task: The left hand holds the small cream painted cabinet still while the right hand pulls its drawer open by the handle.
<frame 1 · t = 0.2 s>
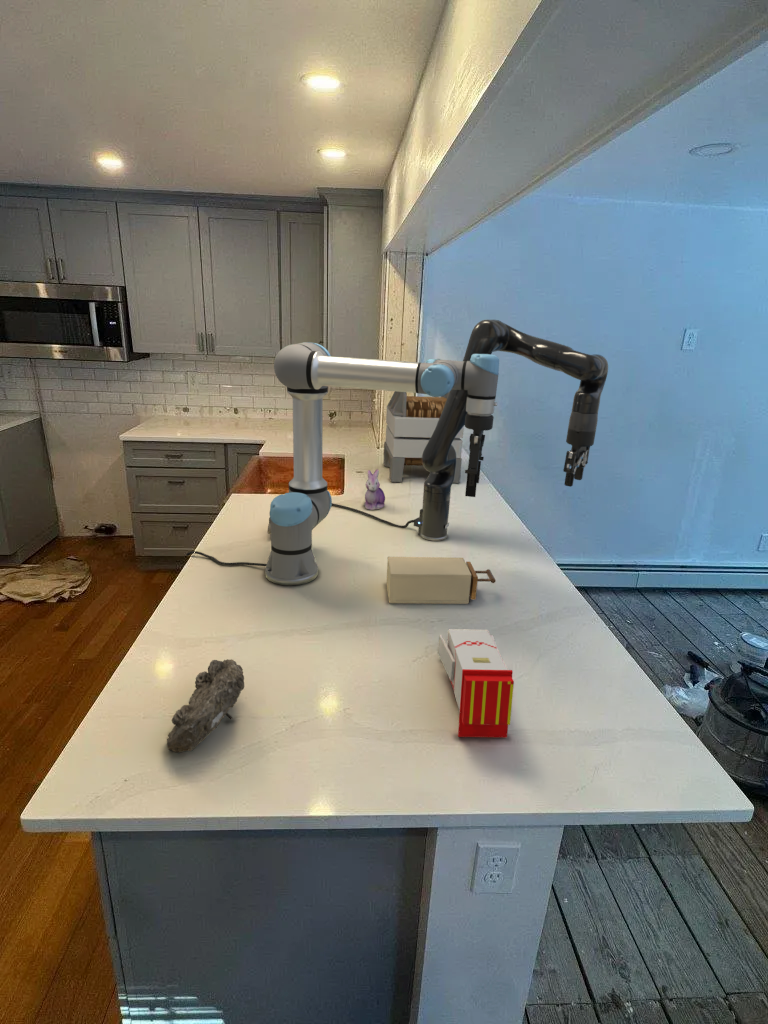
left hand: (472, 489, 160), 28 cm above the counter, tool pointing down, fingers open, 13 cm apart
right hand: (573, 482, 165), 29 cm above the counter, tool pointing down, fingers open, 8 cm apart
cabinet: (426, 593, 159), on the counter
figurine character: (280, 532, 196), on the counter
figurine: (374, 506, 226), on the counter
drawer: (446, 579, 158), point 4 cm above the counter, slide at 0.8 cm
fossil: (212, 717, 108), on the counter
transformer: (419, 473, 275), on the counter
toy: (469, 691, 119), on the counter
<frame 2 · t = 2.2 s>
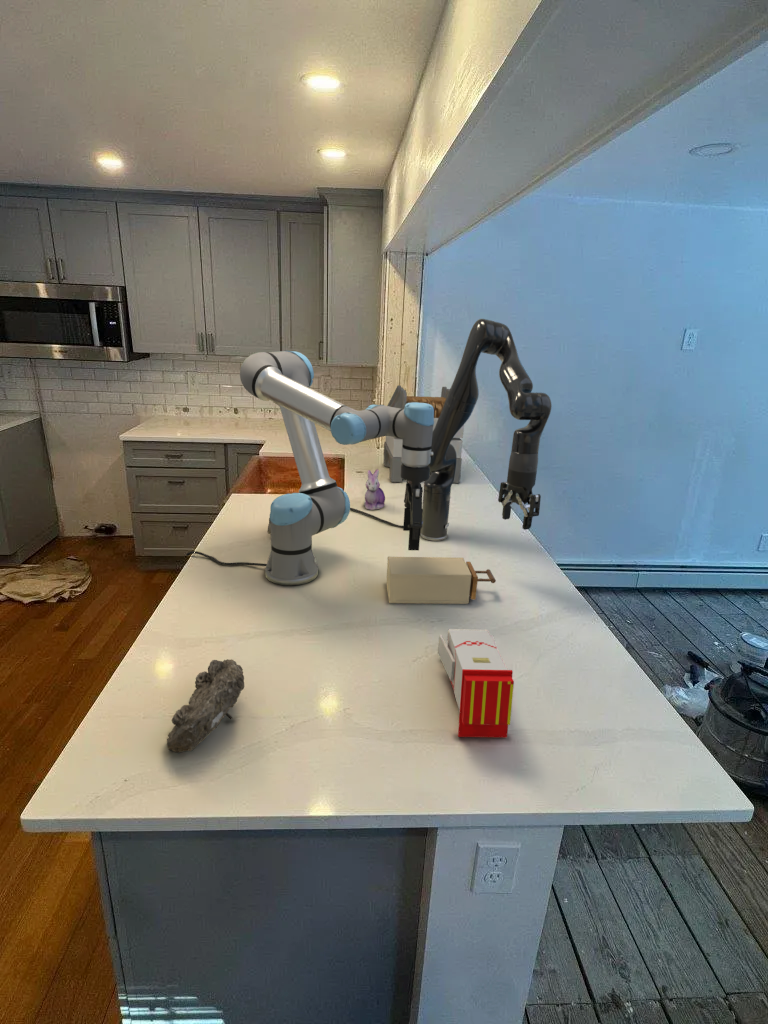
left hand: (410, 539, 154), 16 cm above the counter, tool pointing down, fingers open, 13 cm apart
right hand: (515, 523, 158), 20 cm above the counter, tool pointing down, fingers open, 8 cm apart
nothing on the counter moved.
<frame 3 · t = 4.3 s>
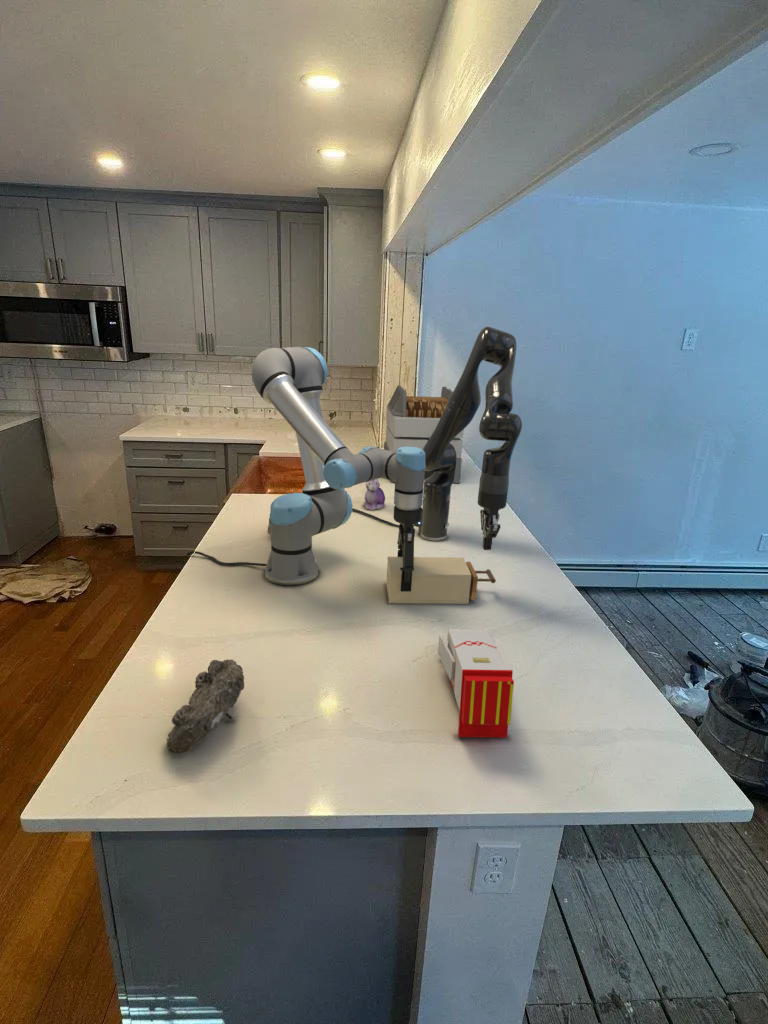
left hand: (403, 580, 157), 4 cm above the counter, tool pointing down, fingers closed on cabinet, 11 cm apart
right hand: (486, 548, 155), 14 cm above the counter, tool pointing down, fingers closed
cabinet: (426, 593, 159), on the counter, touching left hand
everything else where it was.
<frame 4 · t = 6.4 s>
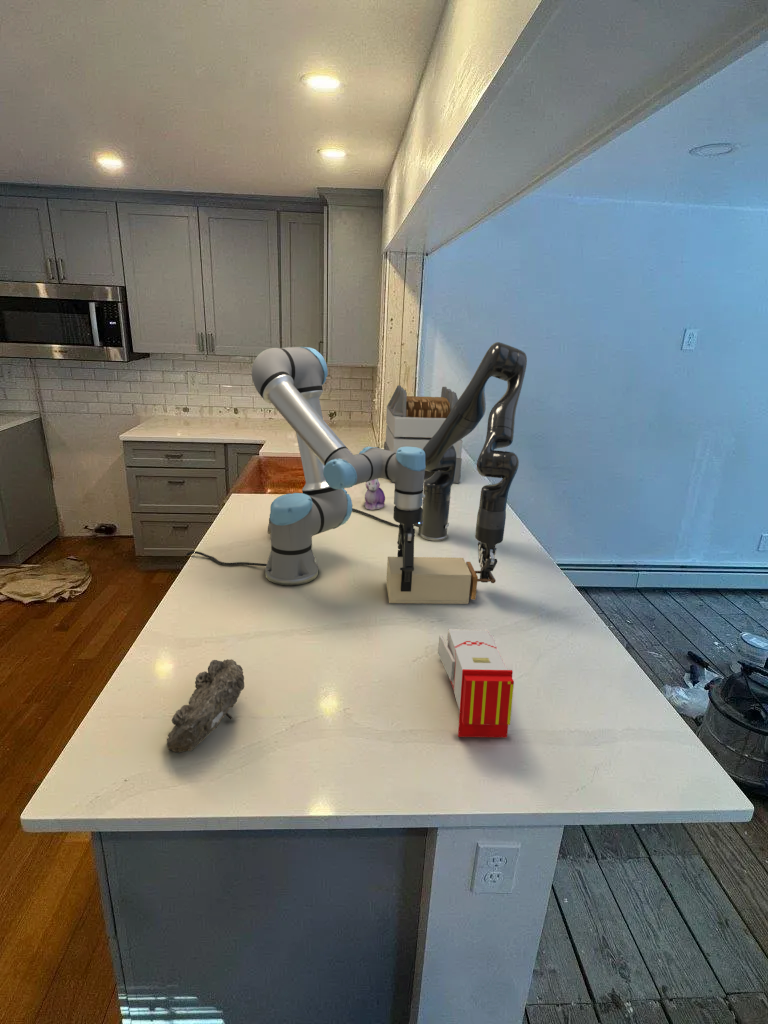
left hand: (403, 580, 157), 4 cm above the counter, tool pointing down, fingers closed on cabinet, 11 cm apart
right hand: (483, 581, 158), 4 cm above the counter, tool pointing down, fingers closed
cabinet: (426, 593, 159), on the counter, touching left hand
drawer: (446, 579, 158), point 4 cm above the counter, slide at 0.8 cm, touching right hand
everything else where it was.
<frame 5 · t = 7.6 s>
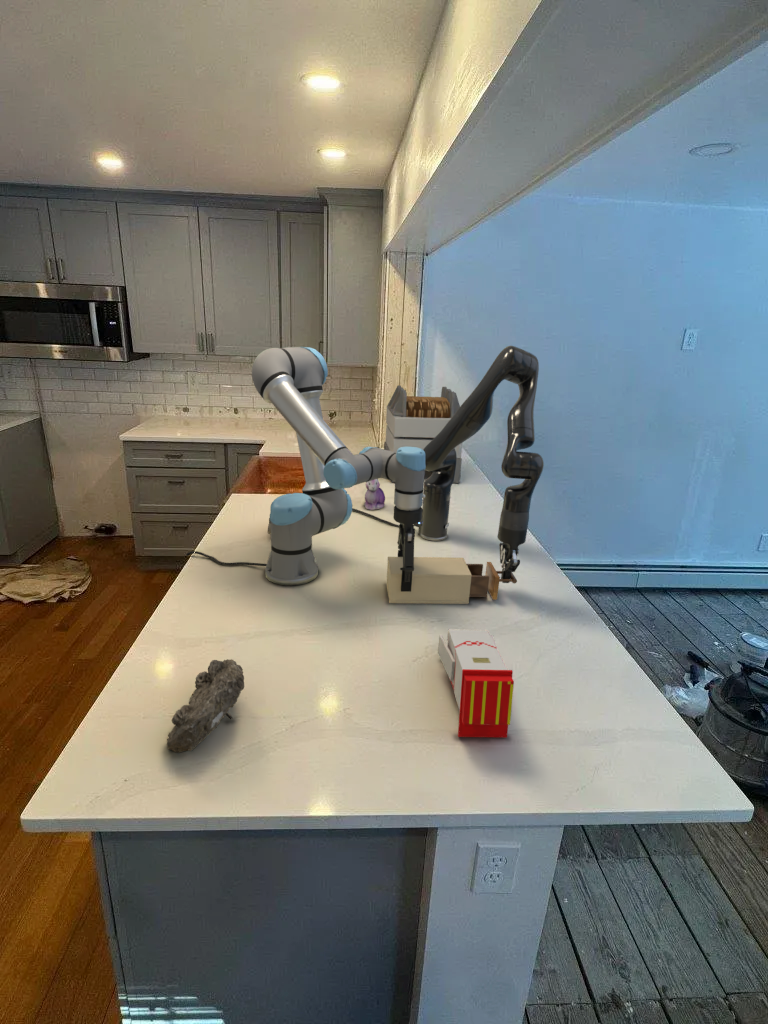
left hand: (403, 580, 157), 4 cm above the counter, tool pointing down, fingers closed on cabinet, 11 cm apart
right hand: (505, 581, 159), 4 cm above the counter, tool pointing down, fingers closed
cabinet: (426, 593, 159), on the counter, touching left hand
drawer: (467, 580, 158), point 4 cm above the counter, slide at 6.8 cm, touching right hand
everything else where it was.
when the left hand's fingers open (4 cm above the counter, at t = 9.4 s): cabinet stays where it is, on the counter.
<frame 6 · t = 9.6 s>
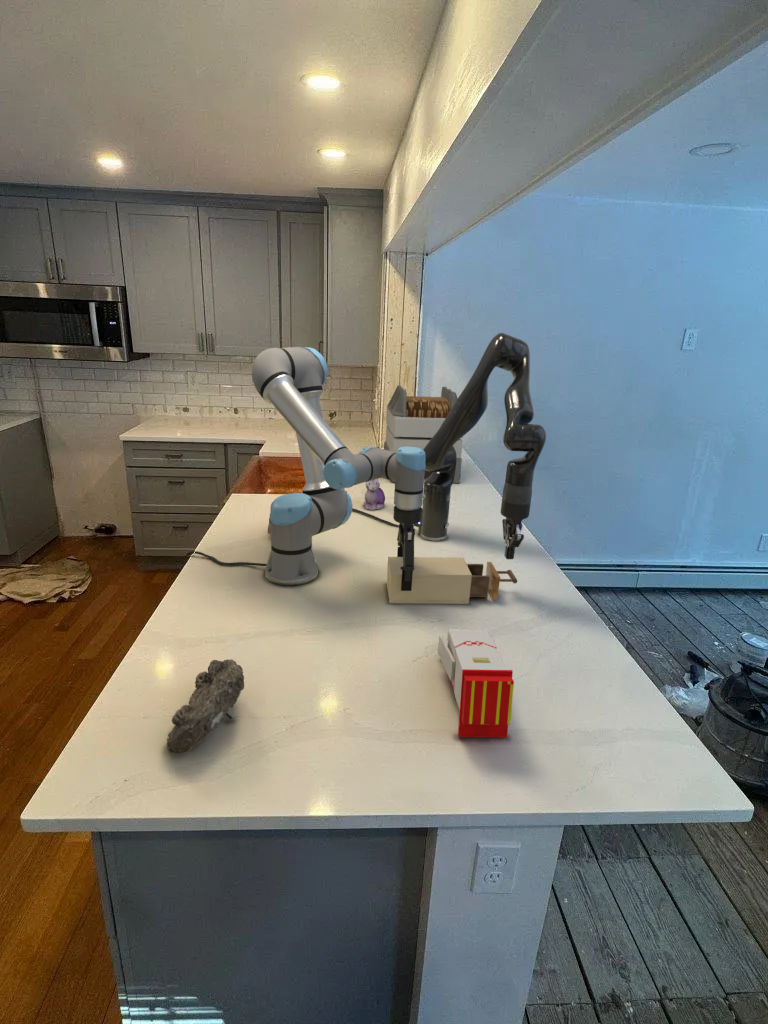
left hand: (403, 578, 157), 5 cm above the counter, tool pointing down, fingers open, 13 cm apart
right hand: (508, 558, 156), 11 cm above the counter, tool pointing down, fingers closed
cabinet: (426, 593, 159), on the counter
drawer: (468, 580, 158), point 4 cm above the counter, slide at 6.8 cm
everything else where it was.
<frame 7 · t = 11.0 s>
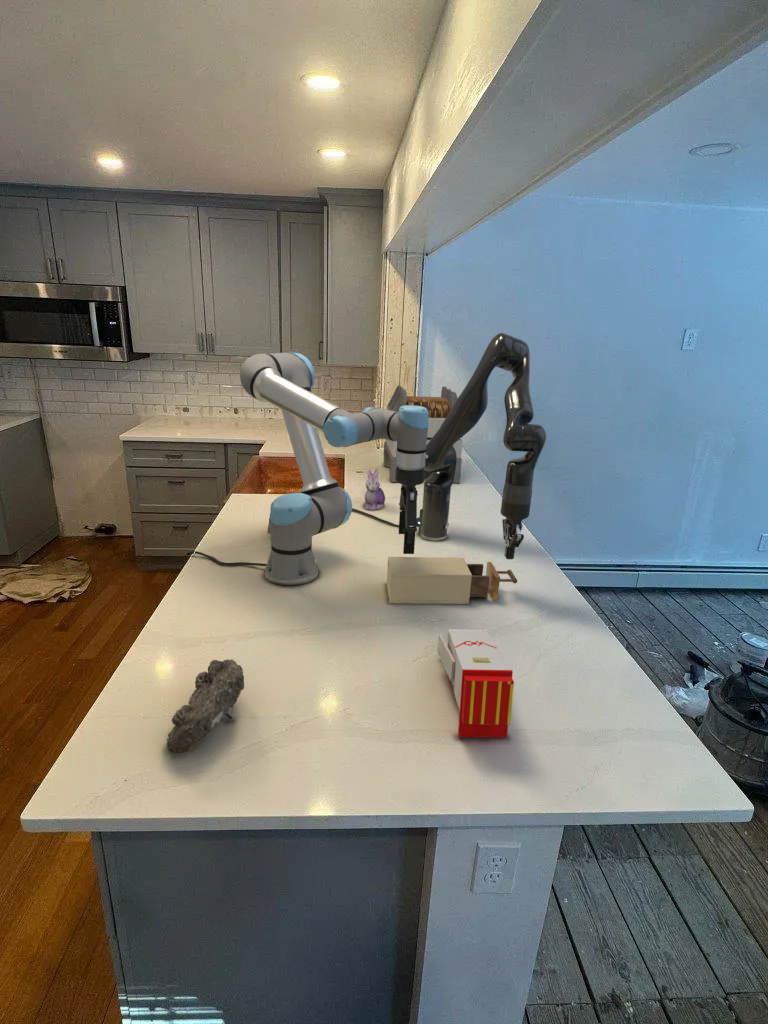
left hand: (405, 543, 153), 15 cm above the counter, tool pointing down, fingers open, 13 cm apart
right hand: (508, 558, 156), 11 cm above the counter, tool pointing down, fingers closed
nothing on the counter moved.
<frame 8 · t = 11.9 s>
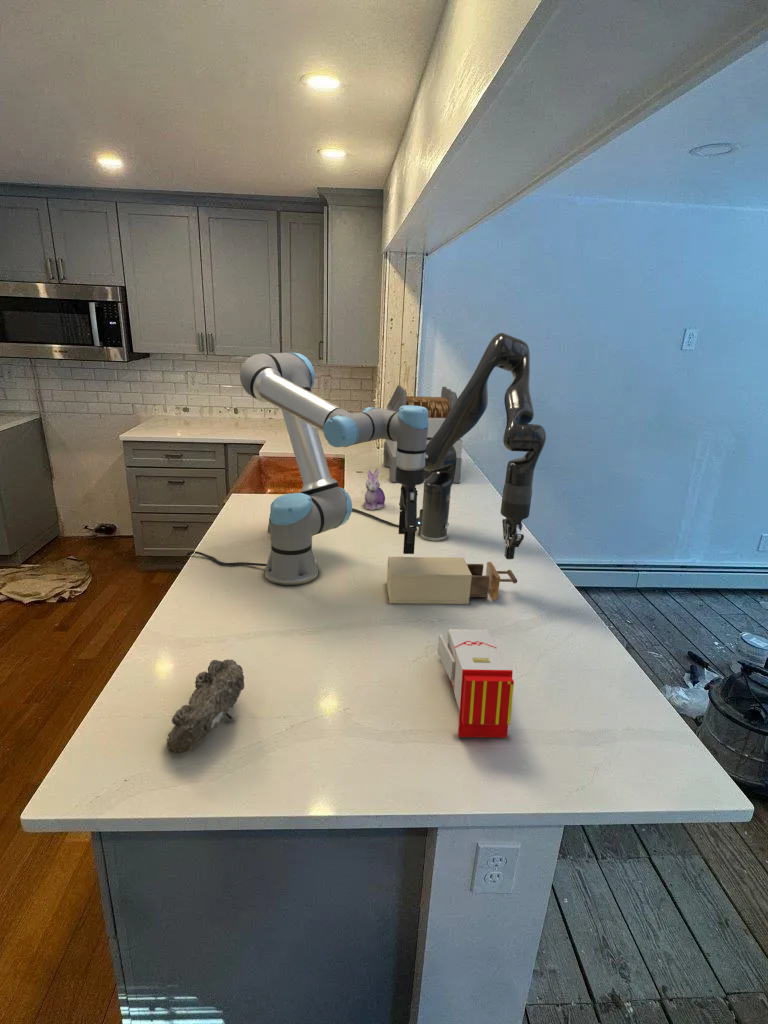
left hand: (405, 543, 153), 15 cm above the counter, tool pointing down, fingers open, 13 cm apart
right hand: (508, 558, 156), 11 cm above the counter, tool pointing down, fingers closed
nothing on the counter moved.
at the end: drawer slide at 6.8 cm; cabinet tilted 0°; cabinet never tilted more than 1° during the clip; cabinet moved 0.1 cm from its start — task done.
